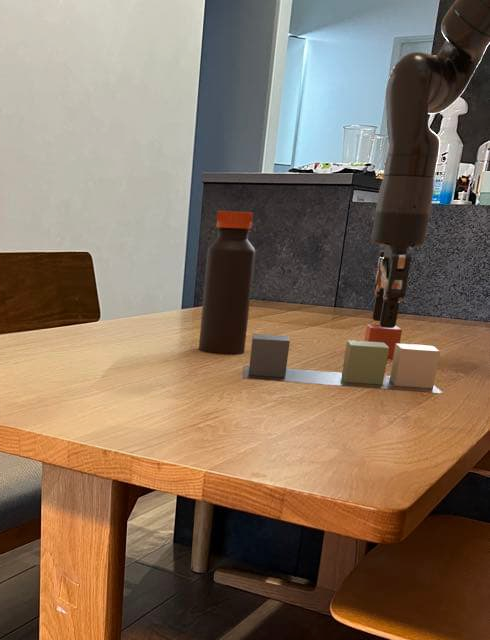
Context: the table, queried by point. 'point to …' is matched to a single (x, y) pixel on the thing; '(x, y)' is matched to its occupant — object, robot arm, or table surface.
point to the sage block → (365, 362)
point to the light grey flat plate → (332, 380)
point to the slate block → (269, 355)
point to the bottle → (227, 286)
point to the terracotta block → (384, 336)
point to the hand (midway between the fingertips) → (383, 323)
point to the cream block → (414, 365)
